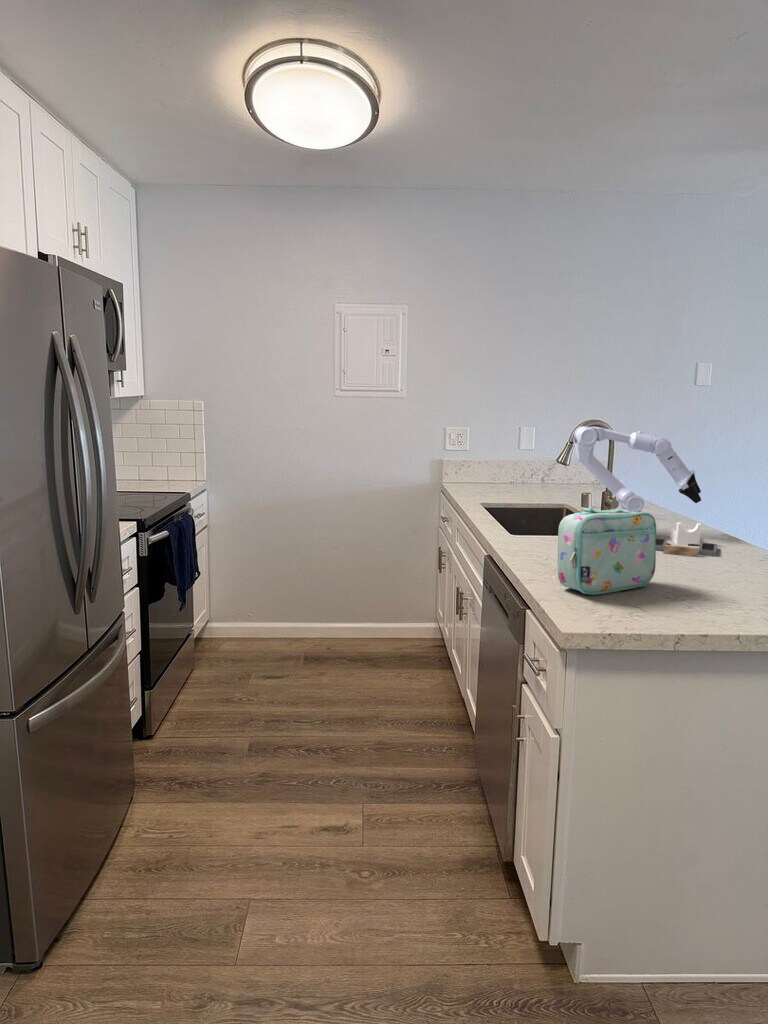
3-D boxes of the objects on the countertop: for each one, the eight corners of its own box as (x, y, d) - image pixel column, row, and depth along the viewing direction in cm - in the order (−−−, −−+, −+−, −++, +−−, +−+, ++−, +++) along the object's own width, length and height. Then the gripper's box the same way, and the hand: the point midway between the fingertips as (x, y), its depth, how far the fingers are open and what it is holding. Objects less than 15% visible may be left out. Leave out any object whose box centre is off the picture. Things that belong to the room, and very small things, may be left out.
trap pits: (647, 549, 217) (647, 544, 217) (651, 541, 228) (651, 537, 228) (715, 556, 208) (716, 551, 208) (716, 548, 219) (717, 543, 219)
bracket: (699, 547, 222) (701, 524, 221) (676, 545, 224) (678, 523, 223) (691, 539, 235) (693, 517, 233) (670, 537, 236) (671, 516, 235)
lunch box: (576, 600, 164) (581, 514, 160) (549, 589, 173) (554, 507, 169) (658, 588, 174) (664, 507, 171) (629, 578, 184) (634, 501, 180)
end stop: (663, 553, 212) (663, 545, 212) (663, 552, 213) (664, 544, 213) (697, 556, 208) (698, 549, 207) (697, 555, 209) (698, 548, 209)
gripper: (685, 467, 222) (709, 499, 223) (685, 453, 234) (708, 484, 235) (666, 478, 226) (690, 509, 227) (667, 464, 238) (690, 494, 239)
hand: (698, 497), depth 231 cm, fingers open, 7 cm apart
